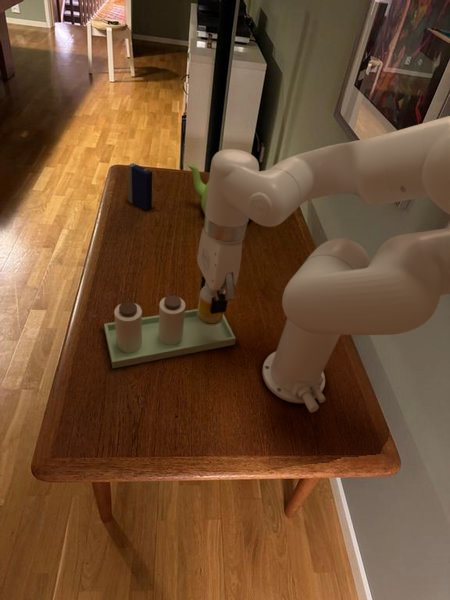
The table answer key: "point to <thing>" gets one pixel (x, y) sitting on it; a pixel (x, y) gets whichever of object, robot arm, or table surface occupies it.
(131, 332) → the matching bottles
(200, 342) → the caddy
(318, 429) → the table surface
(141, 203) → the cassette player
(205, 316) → the supplement bottle
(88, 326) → the table surface
